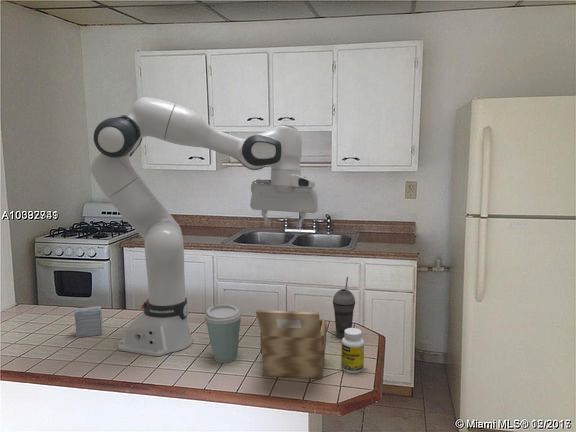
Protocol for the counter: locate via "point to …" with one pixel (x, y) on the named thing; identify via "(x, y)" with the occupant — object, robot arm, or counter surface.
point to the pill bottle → (352, 351)
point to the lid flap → (289, 323)
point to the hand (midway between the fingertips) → (282, 226)
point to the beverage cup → (343, 310)
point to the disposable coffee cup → (223, 331)
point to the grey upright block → (88, 321)
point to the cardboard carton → (294, 355)
